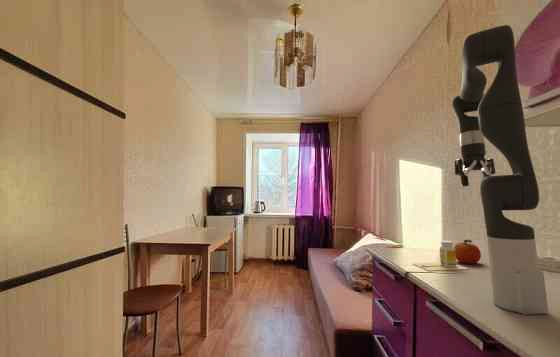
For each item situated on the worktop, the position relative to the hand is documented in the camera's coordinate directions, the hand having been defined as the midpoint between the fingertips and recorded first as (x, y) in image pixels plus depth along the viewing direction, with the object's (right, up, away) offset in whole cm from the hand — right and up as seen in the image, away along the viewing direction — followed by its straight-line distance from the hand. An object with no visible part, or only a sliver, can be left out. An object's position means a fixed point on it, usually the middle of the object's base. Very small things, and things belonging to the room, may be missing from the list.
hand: (476, 186), depth 96 cm
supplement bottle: (-6, -33, +7) cm, 34 cm away
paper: (-10, -33, +6) cm, 35 cm away
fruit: (+5, -33, +12) cm, 36 cm away
